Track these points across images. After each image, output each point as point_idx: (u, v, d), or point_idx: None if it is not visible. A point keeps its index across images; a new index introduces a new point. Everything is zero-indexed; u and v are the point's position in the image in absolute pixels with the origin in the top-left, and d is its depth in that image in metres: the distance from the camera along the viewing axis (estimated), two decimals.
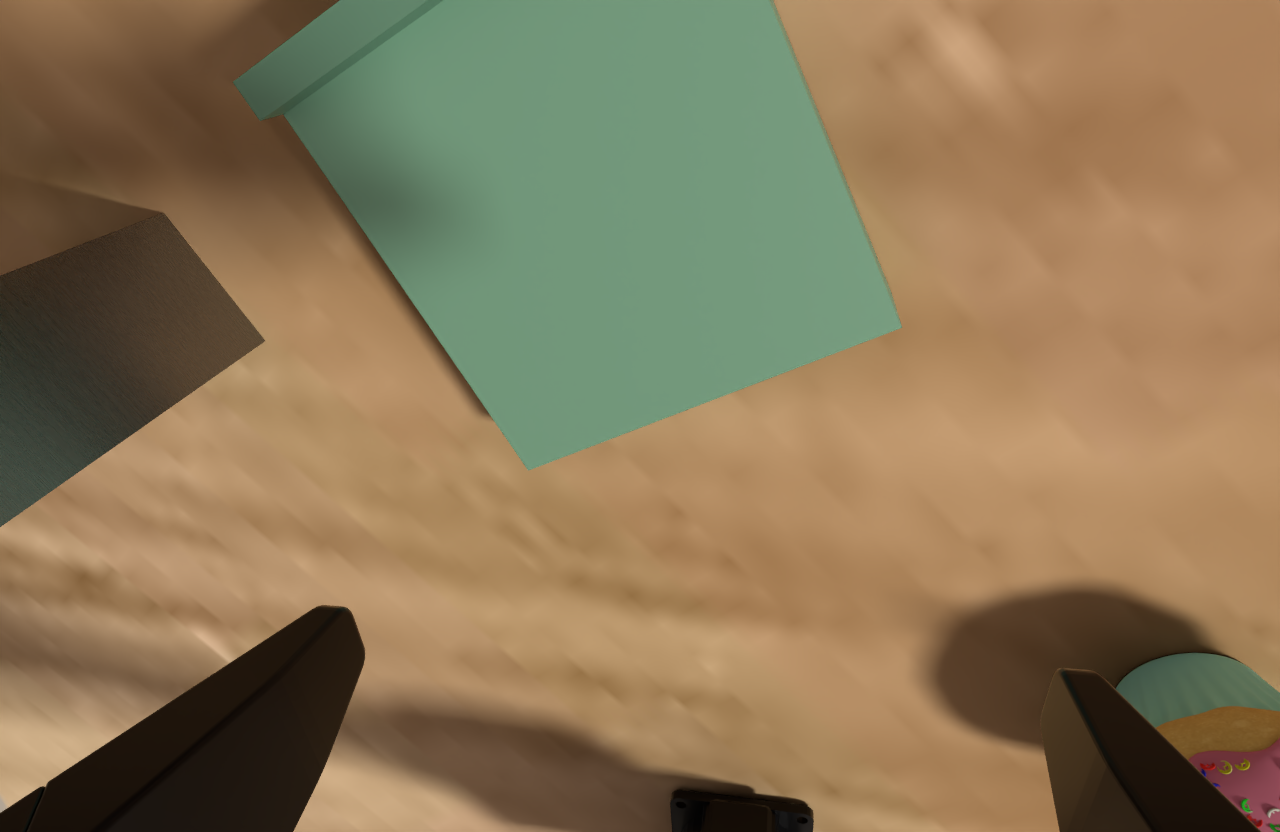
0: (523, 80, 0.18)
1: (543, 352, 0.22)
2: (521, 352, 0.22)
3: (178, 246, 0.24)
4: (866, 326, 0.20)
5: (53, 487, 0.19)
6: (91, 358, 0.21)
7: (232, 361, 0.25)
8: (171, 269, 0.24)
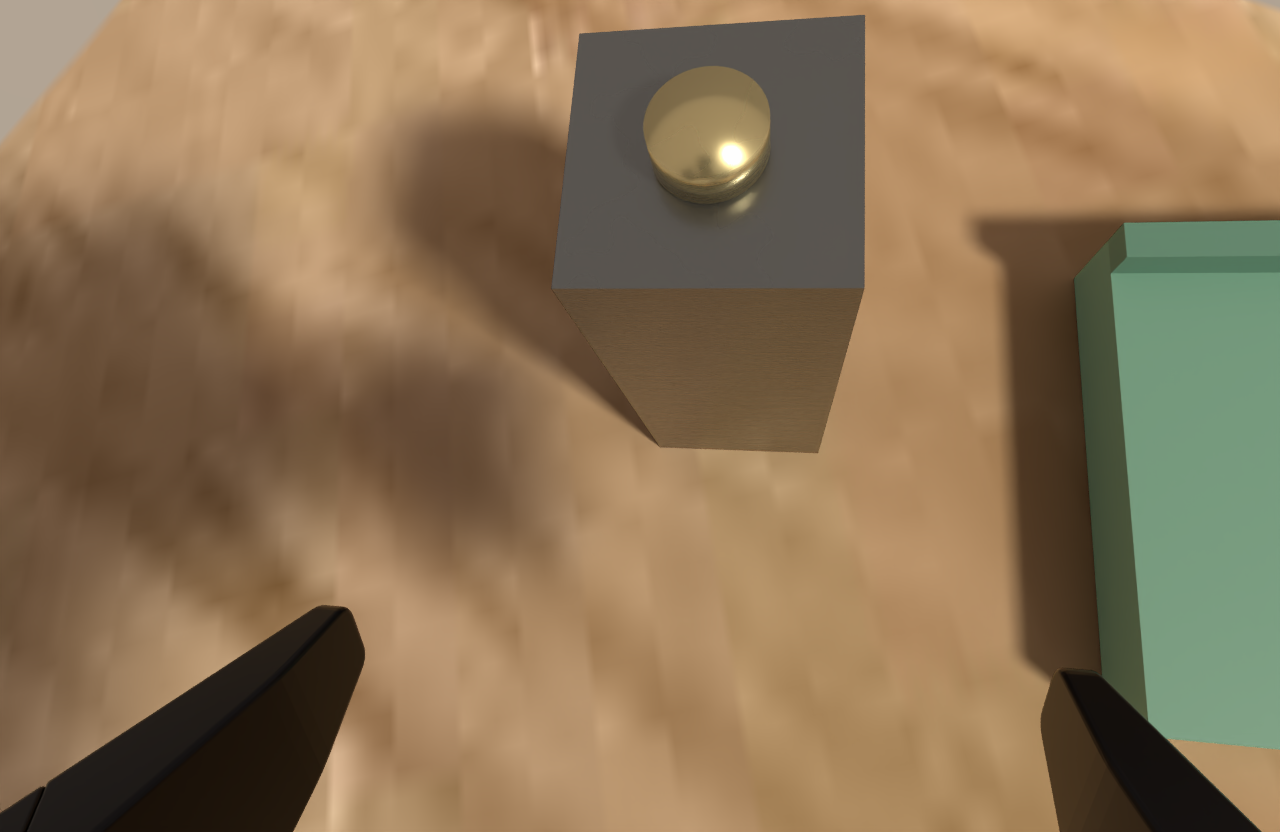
0: None
1: (1262, 602, 0.18)
2: (1231, 588, 0.18)
3: None
4: None
5: (843, 361, 0.15)
6: None
7: None
8: None
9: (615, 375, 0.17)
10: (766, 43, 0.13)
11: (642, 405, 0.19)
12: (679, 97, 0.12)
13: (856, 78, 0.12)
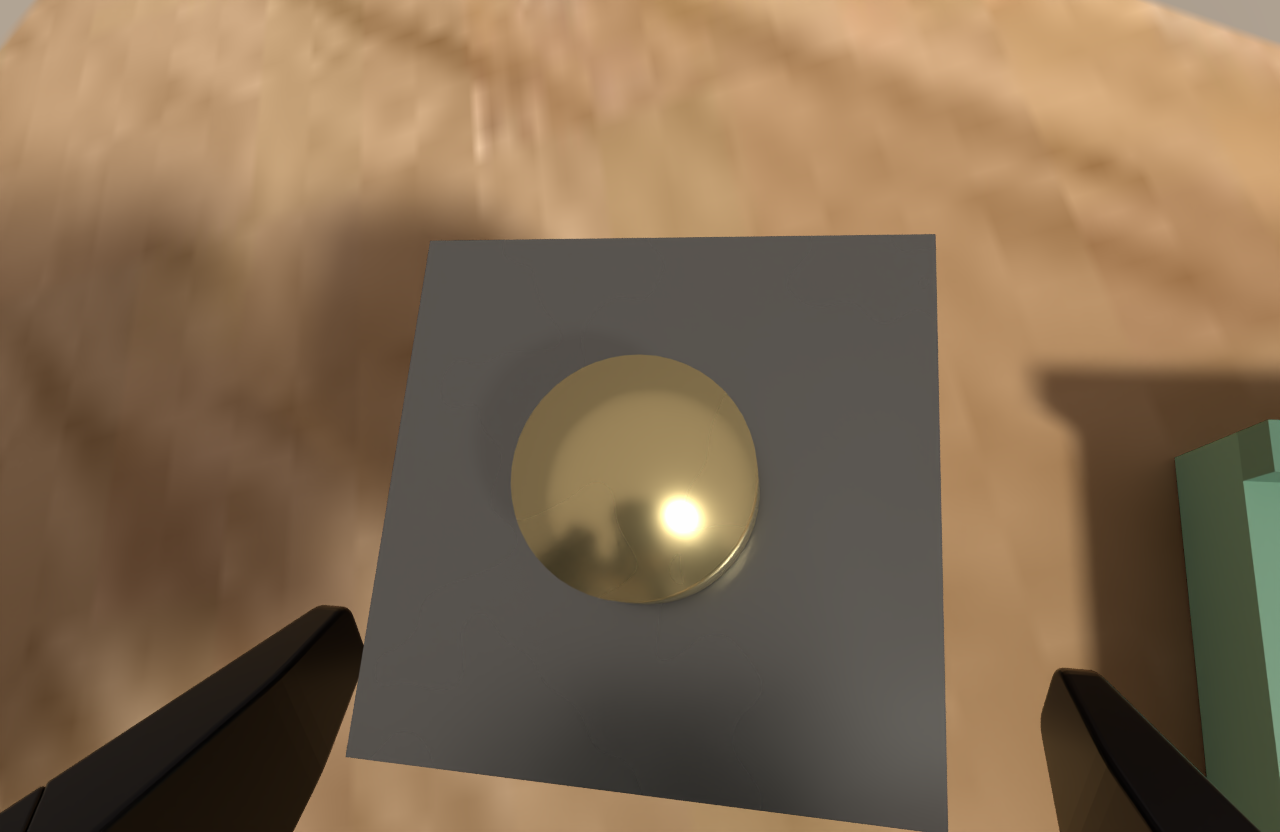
0: None
1: None
2: None
3: None
4: None
5: None
6: None
7: None
8: None
9: None
10: (754, 279, 0.07)
11: None
12: (582, 417, 0.06)
13: (922, 362, 0.07)
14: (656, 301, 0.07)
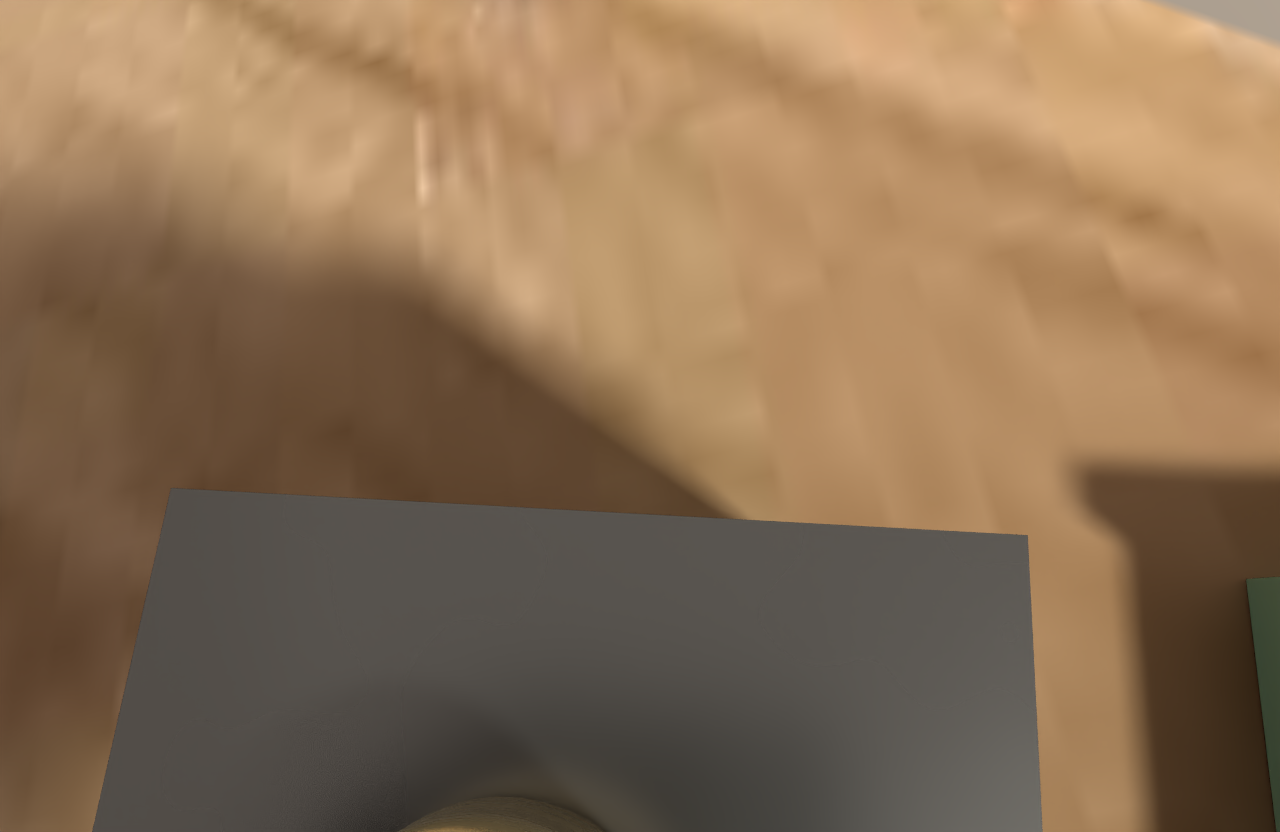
0: None
1: None
2: None
3: None
4: None
5: None
6: None
7: None
8: None
9: None
10: (700, 602, 0.04)
11: None
12: None
13: (1011, 802, 0.04)
14: (530, 631, 0.04)
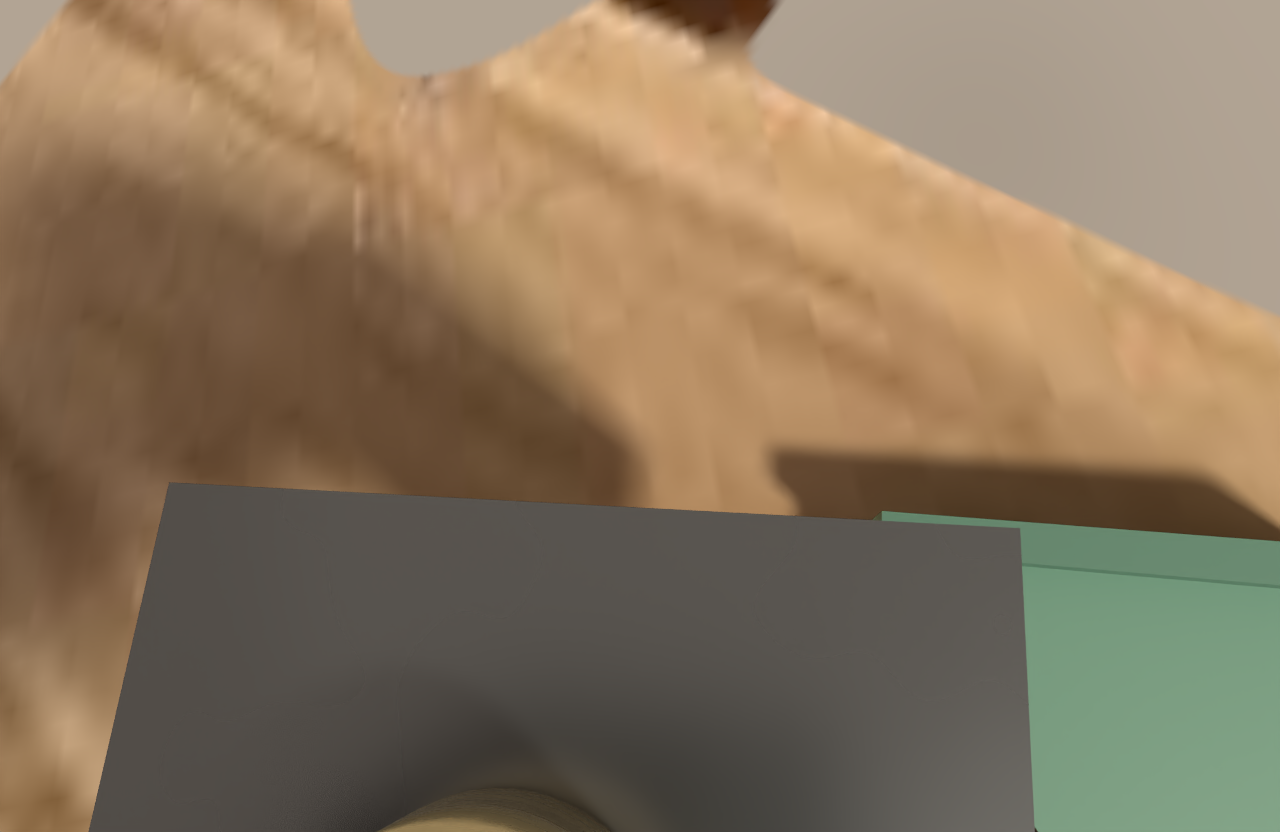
0: (1141, 674, 0.18)
1: None
2: None
3: None
4: None
5: None
6: None
7: None
8: None
9: None
10: (696, 595, 0.04)
11: None
12: None
13: (1003, 790, 0.04)
14: (526, 624, 0.04)
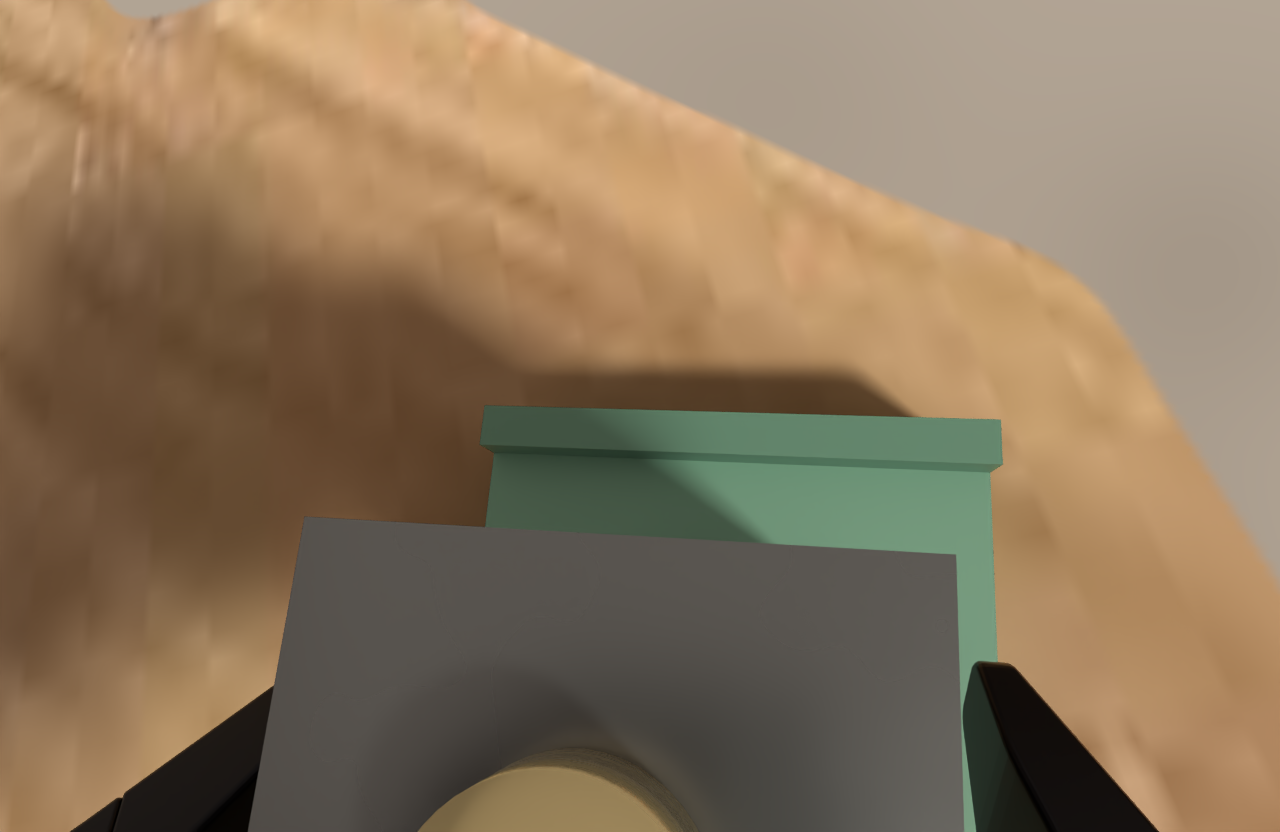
0: None
1: None
2: None
3: None
4: None
5: None
6: None
7: None
8: None
9: None
10: (716, 604, 0.05)
11: None
12: None
13: (940, 746, 0.05)
14: (588, 626, 0.05)
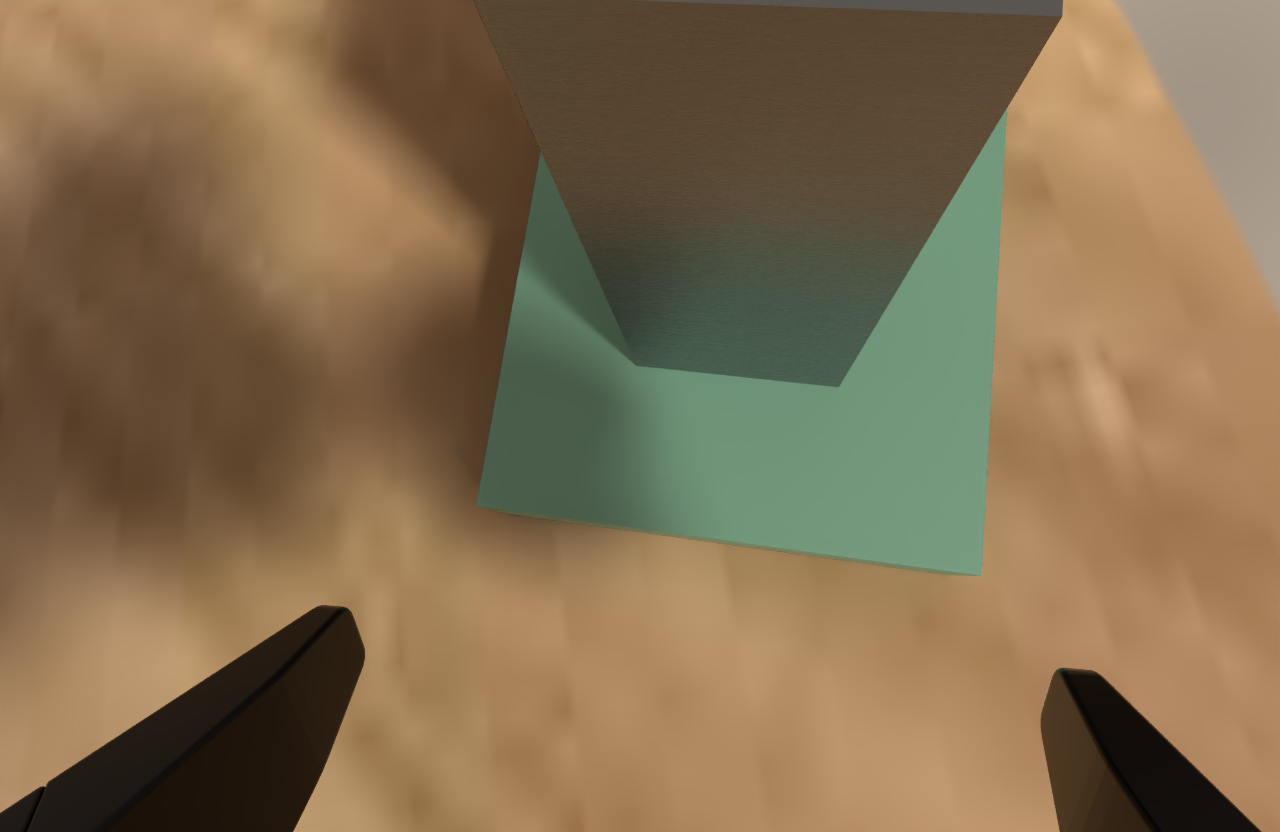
0: None
1: (603, 388, 0.19)
2: (581, 375, 0.19)
3: None
4: (945, 553, 0.17)
5: (939, 218, 0.10)
6: None
7: (850, 365, 0.17)
8: None
9: (582, 230, 0.11)
10: None
11: (618, 292, 0.14)
12: None
13: None
14: None
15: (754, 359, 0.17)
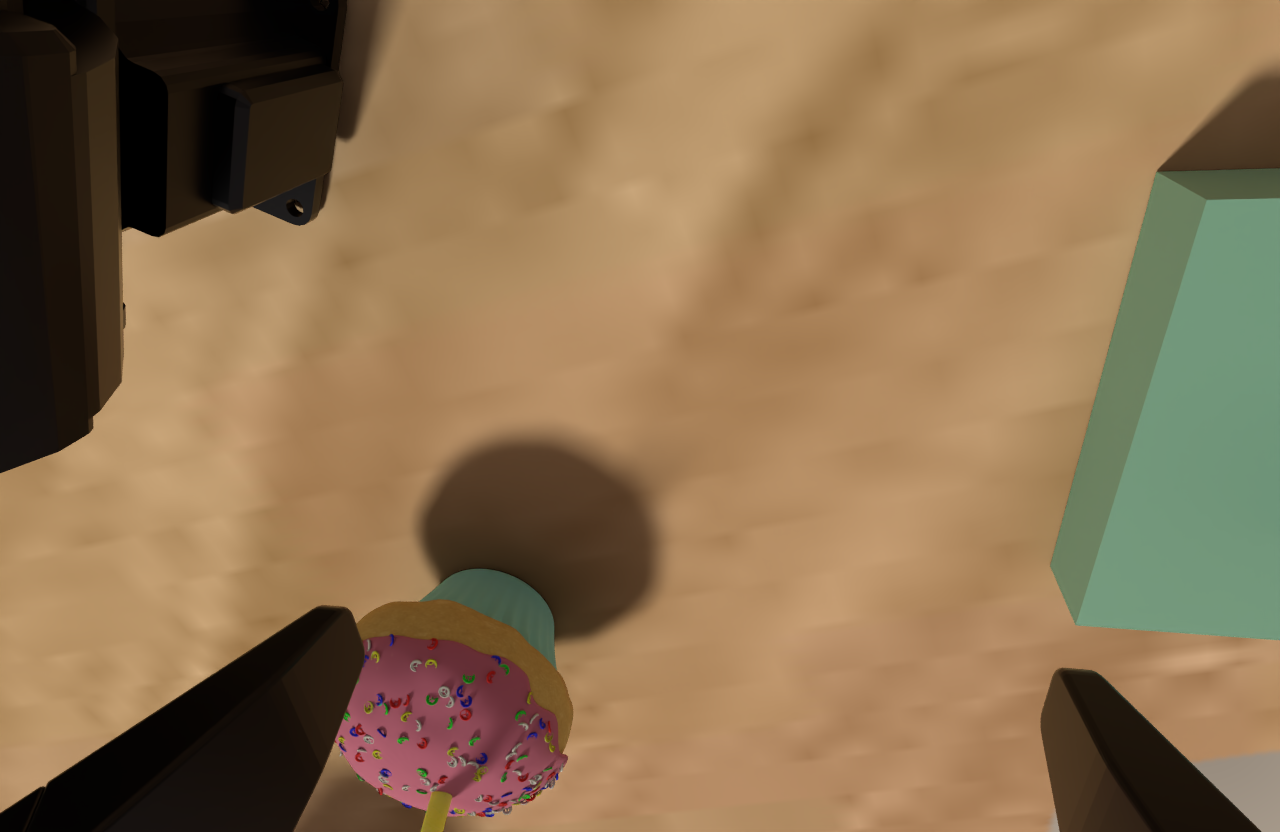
0: None
1: None
2: None
3: None
4: (1097, 605, 0.21)
5: None
6: None
7: None
8: None
9: None
10: None
11: None
12: None
13: None
14: None
15: None
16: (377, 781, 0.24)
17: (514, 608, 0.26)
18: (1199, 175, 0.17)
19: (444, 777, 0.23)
